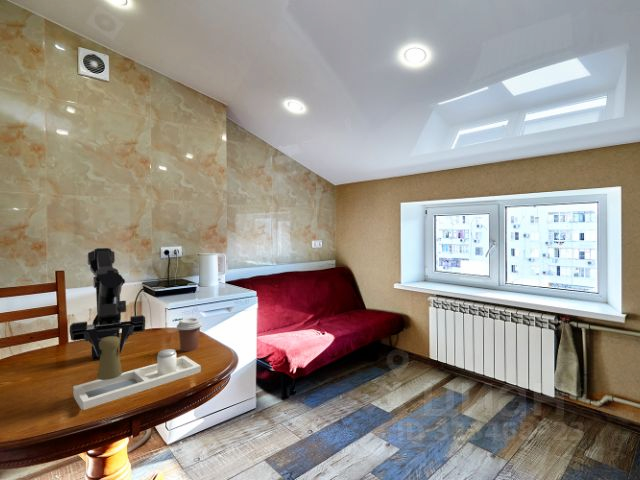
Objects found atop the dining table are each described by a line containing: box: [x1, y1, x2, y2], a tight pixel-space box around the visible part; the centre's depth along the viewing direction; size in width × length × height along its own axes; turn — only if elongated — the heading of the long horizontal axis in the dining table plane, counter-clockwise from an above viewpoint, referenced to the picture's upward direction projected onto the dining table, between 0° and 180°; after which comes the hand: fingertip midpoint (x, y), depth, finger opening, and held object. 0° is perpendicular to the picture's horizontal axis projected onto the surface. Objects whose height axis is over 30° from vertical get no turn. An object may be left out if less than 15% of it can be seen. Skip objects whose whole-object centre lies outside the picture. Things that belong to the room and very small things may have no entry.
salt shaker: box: [156, 348, 177, 377], centre depth 108 cm, size 6×6×7 cm
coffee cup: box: [176, 317, 203, 352], centre depth 131 cm, size 9×9×12 cm
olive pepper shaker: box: [96, 336, 123, 380], centre depth 97 cm, size 6×6×11 cm
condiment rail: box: [72, 355, 202, 411], centre depth 103 cm, size 32×12×3 cm, turn 136°
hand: (109, 354), depth 96 cm, fingers closed on olive pepper shaker, 5 cm apart
